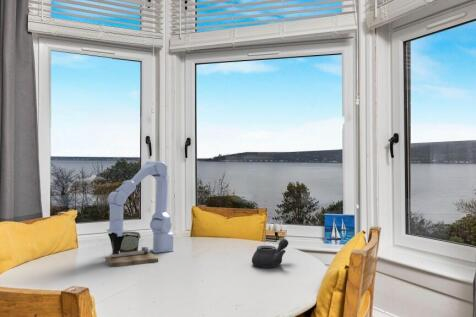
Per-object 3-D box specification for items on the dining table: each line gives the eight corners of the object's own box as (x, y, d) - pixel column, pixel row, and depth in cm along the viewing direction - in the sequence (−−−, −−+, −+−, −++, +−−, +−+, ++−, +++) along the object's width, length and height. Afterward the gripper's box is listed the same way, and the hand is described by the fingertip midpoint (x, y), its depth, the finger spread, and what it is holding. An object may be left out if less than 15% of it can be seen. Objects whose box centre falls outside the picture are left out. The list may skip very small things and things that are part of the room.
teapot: (276, 272, 153) (276, 247, 153) (245, 265, 162) (246, 241, 163) (300, 263, 168) (300, 240, 168) (270, 257, 177) (270, 235, 177)
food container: (144, 252, 184) (144, 231, 184) (139, 255, 178) (140, 234, 178) (119, 251, 185) (119, 231, 185) (114, 254, 179) (114, 233, 179)
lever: (147, 251, 178) (147, 237, 178) (149, 253, 175) (149, 238, 175) (110, 256, 169) (110, 240, 169) (112, 257, 166) (112, 241, 166)
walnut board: (150, 255, 178) (151, 252, 178) (158, 261, 167) (158, 258, 167) (105, 260, 169) (105, 257, 169) (110, 267, 158) (110, 263, 158)
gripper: (103, 217, 174) (103, 247, 173) (110, 221, 161) (110, 254, 161) (119, 216, 177) (119, 246, 177) (127, 220, 165) (127, 252, 164)
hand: (116, 250), depth 169 cm, fingers open, 4 cm apart
